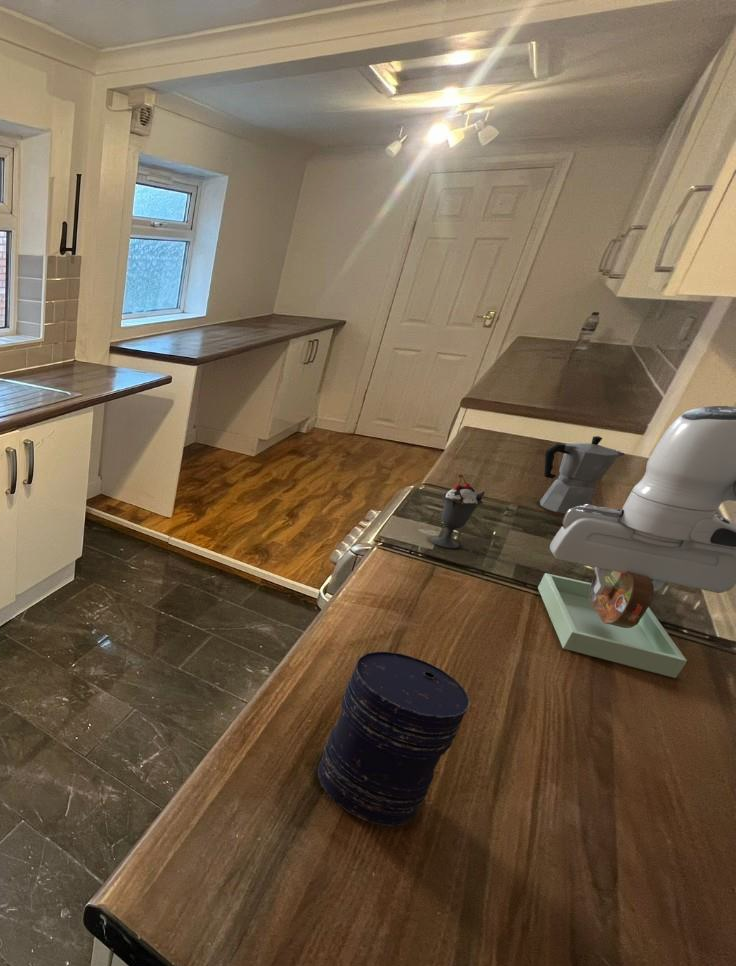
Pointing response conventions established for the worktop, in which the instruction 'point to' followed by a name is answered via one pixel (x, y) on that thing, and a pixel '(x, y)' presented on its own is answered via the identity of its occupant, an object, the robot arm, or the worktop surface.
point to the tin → (623, 599)
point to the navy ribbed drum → (390, 736)
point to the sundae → (457, 511)
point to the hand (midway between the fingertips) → (616, 597)
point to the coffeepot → (576, 474)
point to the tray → (607, 630)
